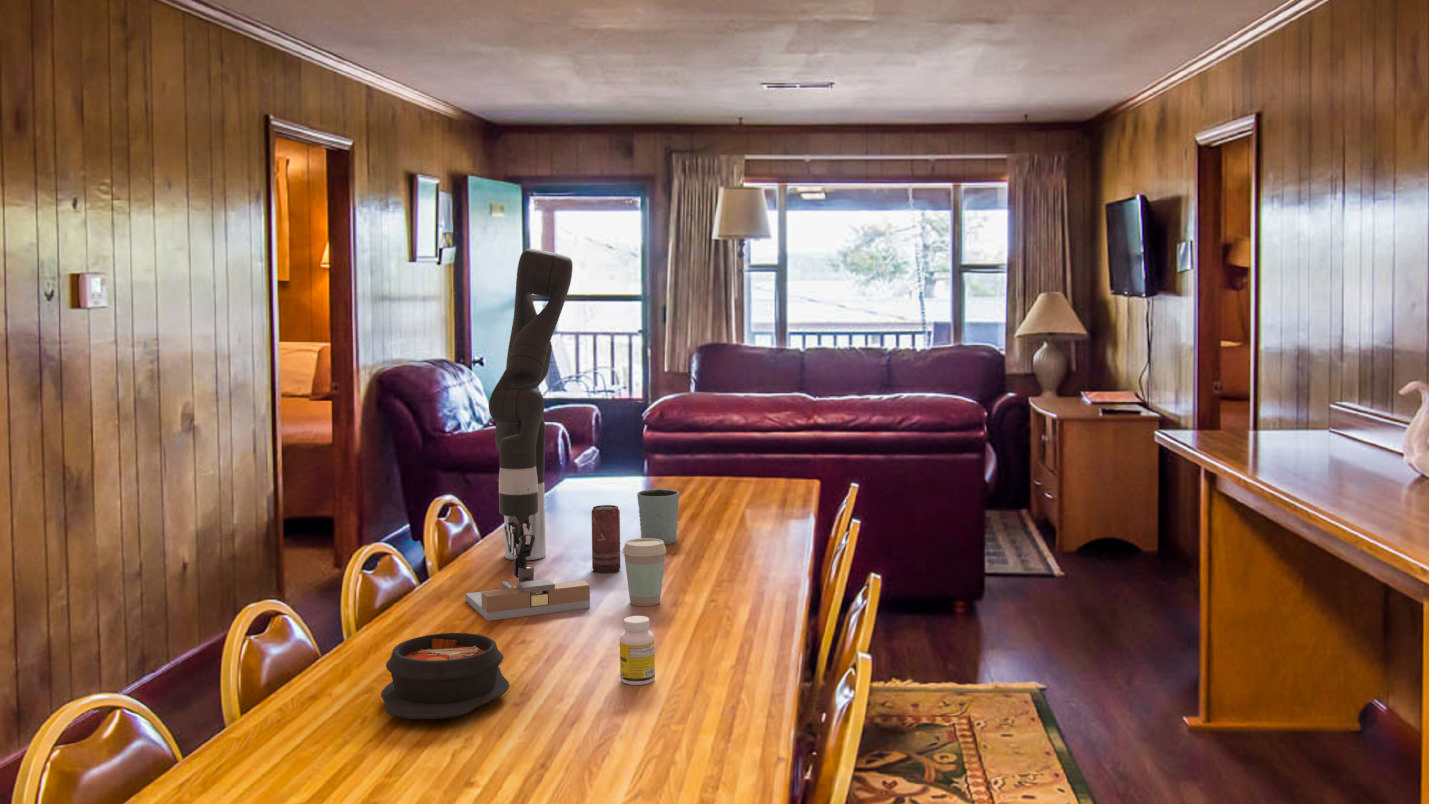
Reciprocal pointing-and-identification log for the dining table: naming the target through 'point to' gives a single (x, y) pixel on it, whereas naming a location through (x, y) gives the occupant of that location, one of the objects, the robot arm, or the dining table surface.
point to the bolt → (528, 575)
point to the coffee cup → (644, 570)
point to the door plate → (520, 613)
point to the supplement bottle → (637, 652)
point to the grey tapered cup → (658, 514)
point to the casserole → (443, 676)
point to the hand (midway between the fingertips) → (520, 576)
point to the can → (605, 539)
